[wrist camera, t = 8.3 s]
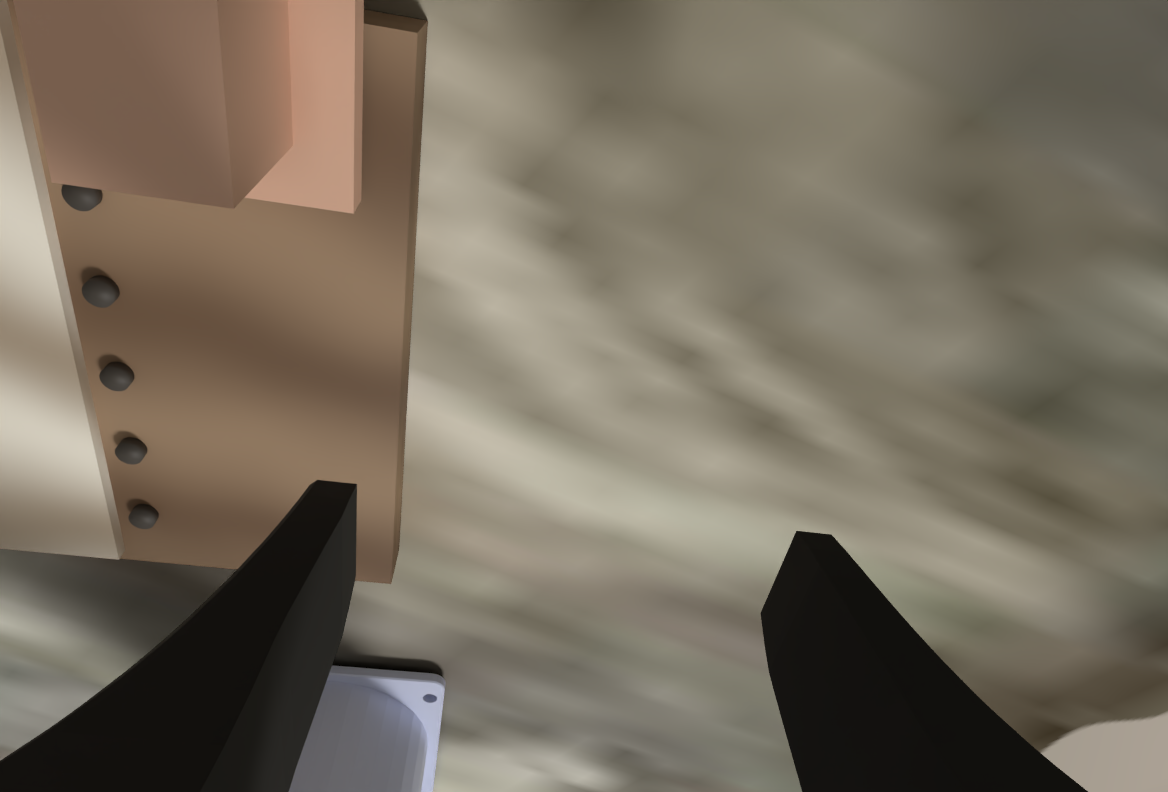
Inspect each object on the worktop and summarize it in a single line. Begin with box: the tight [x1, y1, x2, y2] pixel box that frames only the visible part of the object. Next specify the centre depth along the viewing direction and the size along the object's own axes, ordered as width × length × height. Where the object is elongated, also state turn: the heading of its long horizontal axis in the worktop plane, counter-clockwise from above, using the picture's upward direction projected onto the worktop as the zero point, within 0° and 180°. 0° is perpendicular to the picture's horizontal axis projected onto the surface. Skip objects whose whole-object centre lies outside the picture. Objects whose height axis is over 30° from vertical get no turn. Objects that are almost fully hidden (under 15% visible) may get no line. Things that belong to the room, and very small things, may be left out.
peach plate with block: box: [13, 0, 364, 214], centre depth 13 cm, size 6×5×4 cm
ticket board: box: [0, 0, 428, 584], centre depth 20 cm, size 16×14×2 cm
